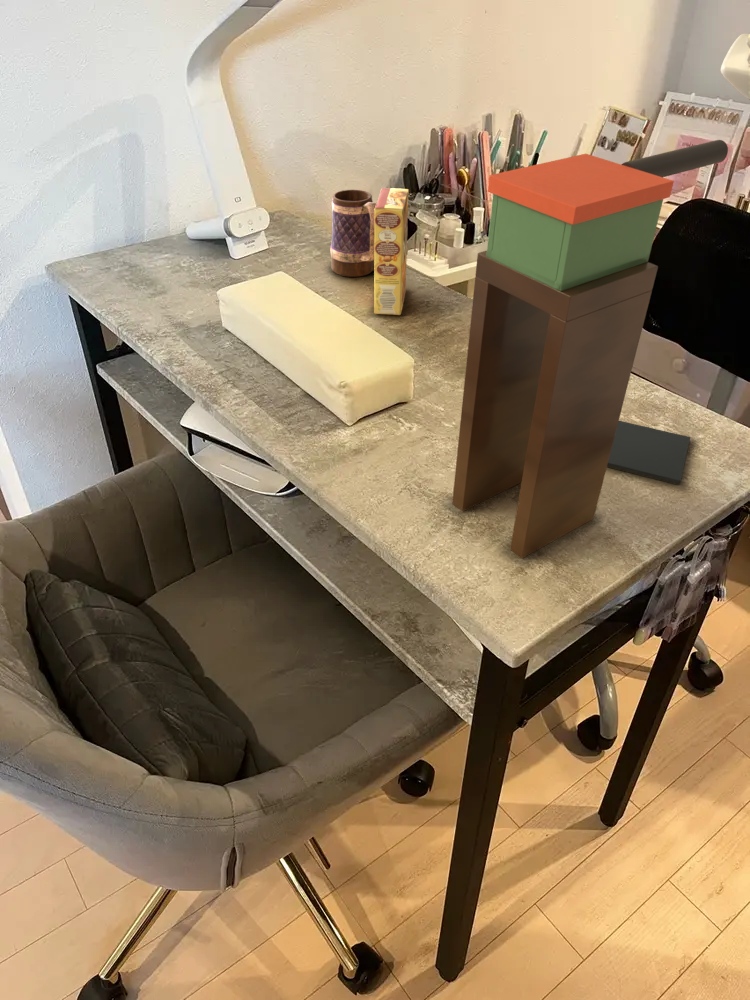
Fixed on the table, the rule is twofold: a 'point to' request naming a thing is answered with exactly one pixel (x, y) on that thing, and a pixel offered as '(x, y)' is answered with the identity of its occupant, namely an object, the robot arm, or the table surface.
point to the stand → (546, 393)
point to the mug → (352, 233)
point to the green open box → (569, 242)
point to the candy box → (390, 250)
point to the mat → (649, 452)
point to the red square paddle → (600, 182)
